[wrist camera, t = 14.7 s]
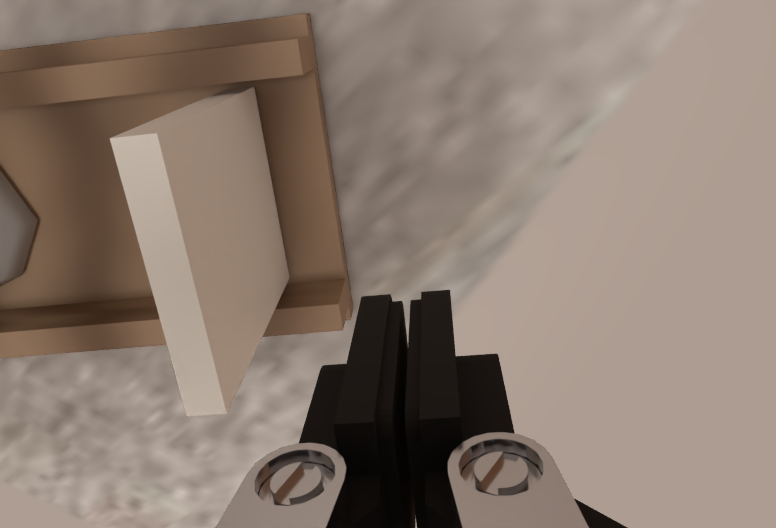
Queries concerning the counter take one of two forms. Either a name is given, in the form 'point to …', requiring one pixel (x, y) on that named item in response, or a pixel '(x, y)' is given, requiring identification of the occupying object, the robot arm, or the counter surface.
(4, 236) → the flask
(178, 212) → the rectangular block
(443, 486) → the robot arm
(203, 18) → the counter surface
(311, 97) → the wooden crate tray
